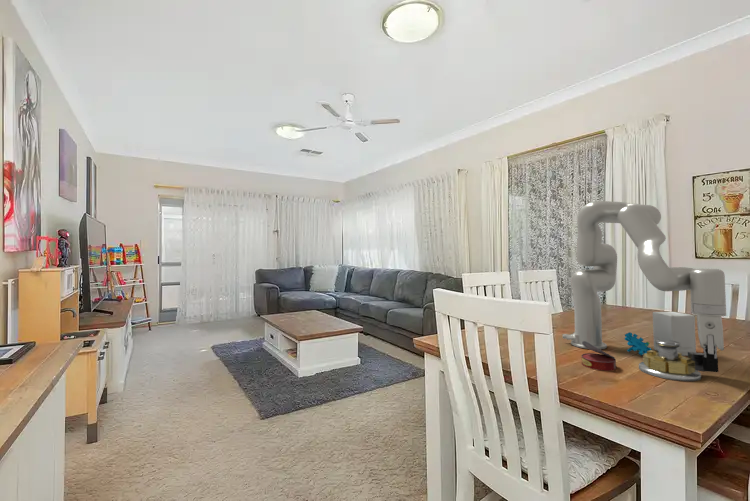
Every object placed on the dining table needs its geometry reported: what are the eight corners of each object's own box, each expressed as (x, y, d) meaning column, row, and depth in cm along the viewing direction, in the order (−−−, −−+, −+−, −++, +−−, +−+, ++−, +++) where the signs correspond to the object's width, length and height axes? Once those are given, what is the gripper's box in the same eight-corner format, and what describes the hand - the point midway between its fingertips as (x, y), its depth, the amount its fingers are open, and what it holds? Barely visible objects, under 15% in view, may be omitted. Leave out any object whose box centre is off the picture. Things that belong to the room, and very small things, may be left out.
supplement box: (697, 356, 124) (696, 315, 124) (672, 356, 124) (671, 315, 124) (675, 349, 133) (674, 311, 133) (652, 349, 133) (651, 311, 133)
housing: (647, 377, 104) (646, 345, 104) (633, 362, 118) (632, 334, 118) (711, 384, 98) (710, 350, 98) (688, 367, 112) (687, 338, 112)
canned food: (583, 374, 120) (579, 346, 125) (617, 376, 115) (612, 347, 120) (581, 368, 112) (577, 338, 117) (618, 369, 107) (612, 338, 111)
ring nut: (653, 371, 105) (652, 355, 105) (639, 359, 116) (638, 345, 116) (726, 377, 98) (726, 360, 98) (704, 365, 109) (703, 349, 109)
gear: (639, 354, 122) (621, 330, 129) (627, 362, 126) (610, 339, 133) (661, 355, 125) (642, 332, 132) (648, 363, 129) (630, 340, 136)
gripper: (728, 314, 93) (731, 380, 93) (723, 307, 105) (726, 366, 104) (691, 311, 98) (694, 374, 98) (690, 305, 110) (692, 362, 109)
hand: (710, 370), depth 101 cm, fingers closed
